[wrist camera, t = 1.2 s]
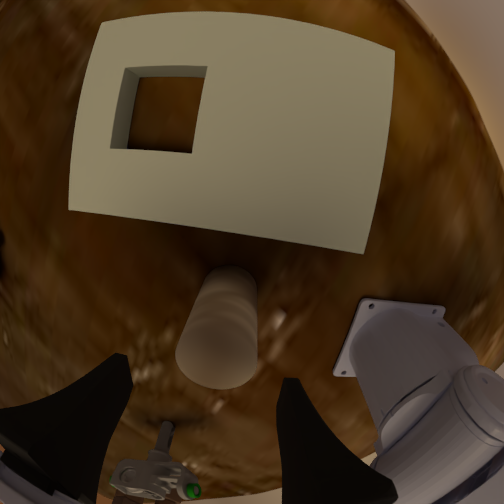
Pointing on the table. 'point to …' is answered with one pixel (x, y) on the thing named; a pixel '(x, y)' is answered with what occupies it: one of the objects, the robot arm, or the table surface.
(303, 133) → the socket board
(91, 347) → the table surface
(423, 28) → the table surface
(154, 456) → the mechanical component
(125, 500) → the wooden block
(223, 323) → the birch peg
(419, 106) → the table surface
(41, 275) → the table surface
